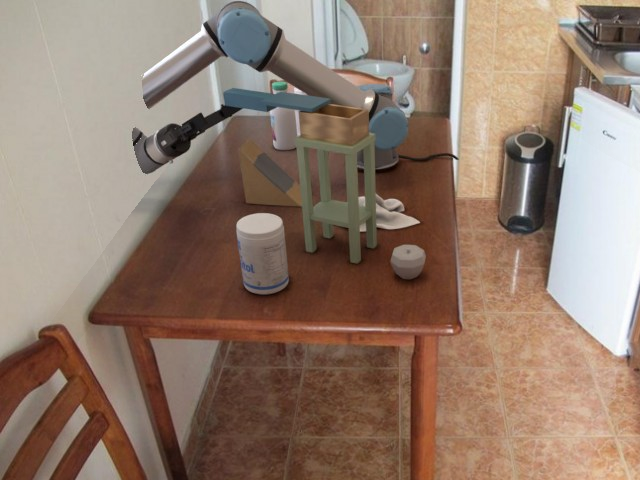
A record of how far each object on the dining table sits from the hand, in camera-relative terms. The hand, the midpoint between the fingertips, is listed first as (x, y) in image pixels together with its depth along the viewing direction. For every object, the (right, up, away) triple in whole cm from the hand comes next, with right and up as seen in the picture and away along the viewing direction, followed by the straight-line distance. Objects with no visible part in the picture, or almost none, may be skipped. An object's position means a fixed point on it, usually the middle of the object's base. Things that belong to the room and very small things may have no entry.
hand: (223, 109), depth 150 cm
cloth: (+34, -22, +19) cm, 45 cm away
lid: (+13, -2, -6) cm, 14 cm away
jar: (+10, +13, +73) cm, 75 cm away
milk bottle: (+4, +6, +62) cm, 62 cm away
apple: (+42, -38, -5) cm, 57 cm away
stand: (+26, -31, +5) cm, 41 cm away
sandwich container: (+7, -16, +29) cm, 33 cm away
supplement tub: (+12, -40, -8) cm, 42 cm away
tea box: (+26, -8, -10) cm, 29 cm away
